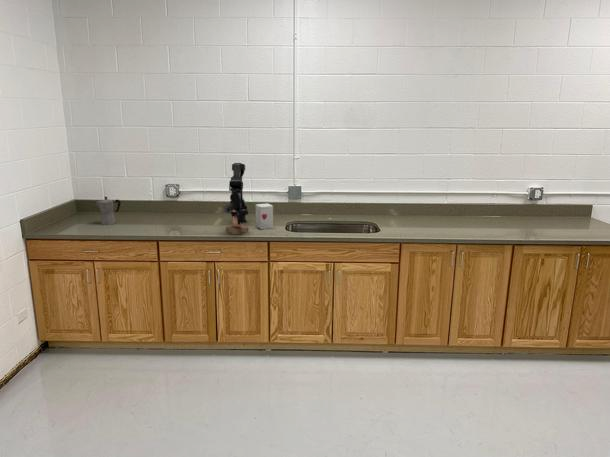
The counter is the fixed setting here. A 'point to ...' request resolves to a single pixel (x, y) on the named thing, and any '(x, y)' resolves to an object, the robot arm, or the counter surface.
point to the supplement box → (264, 216)
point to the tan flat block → (237, 229)
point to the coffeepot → (107, 210)
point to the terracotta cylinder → (235, 221)
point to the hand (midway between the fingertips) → (237, 223)
